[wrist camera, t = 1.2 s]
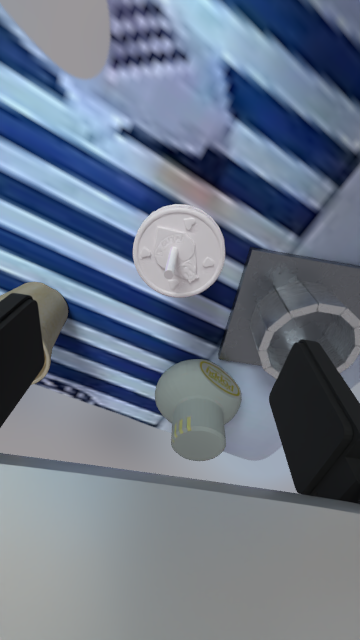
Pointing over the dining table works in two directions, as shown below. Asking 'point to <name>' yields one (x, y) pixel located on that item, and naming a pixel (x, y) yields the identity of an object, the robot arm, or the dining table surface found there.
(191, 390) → the air freshener
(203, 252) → the smoothie
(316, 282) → the duct collar
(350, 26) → the dining table surface
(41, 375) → the flower pot
